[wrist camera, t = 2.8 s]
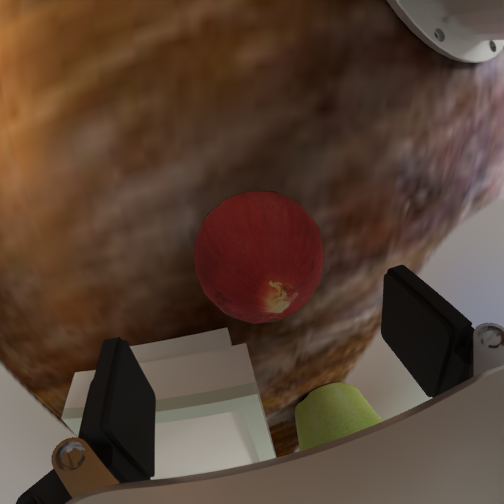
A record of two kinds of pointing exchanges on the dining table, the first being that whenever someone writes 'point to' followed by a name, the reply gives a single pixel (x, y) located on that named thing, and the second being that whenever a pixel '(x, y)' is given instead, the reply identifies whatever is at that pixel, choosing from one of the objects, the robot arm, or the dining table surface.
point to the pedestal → (195, 404)
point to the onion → (259, 256)
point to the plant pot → (332, 414)
